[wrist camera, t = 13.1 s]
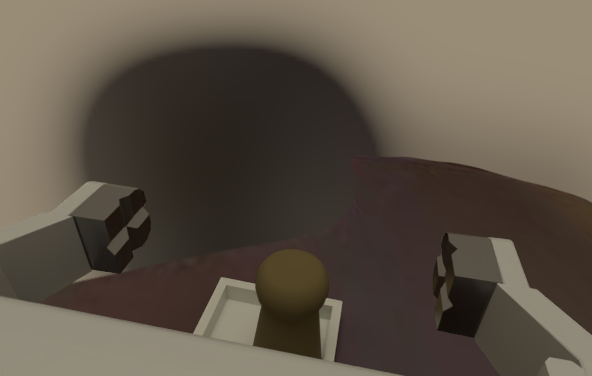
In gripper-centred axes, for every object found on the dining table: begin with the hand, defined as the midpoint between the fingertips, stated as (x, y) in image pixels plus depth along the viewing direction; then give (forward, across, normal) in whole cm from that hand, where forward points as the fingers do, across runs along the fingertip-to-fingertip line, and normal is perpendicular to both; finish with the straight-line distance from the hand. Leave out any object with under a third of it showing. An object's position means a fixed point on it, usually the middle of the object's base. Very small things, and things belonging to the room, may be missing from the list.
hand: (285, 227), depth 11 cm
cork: (+11, +2, +24) cm, 27 cm away
